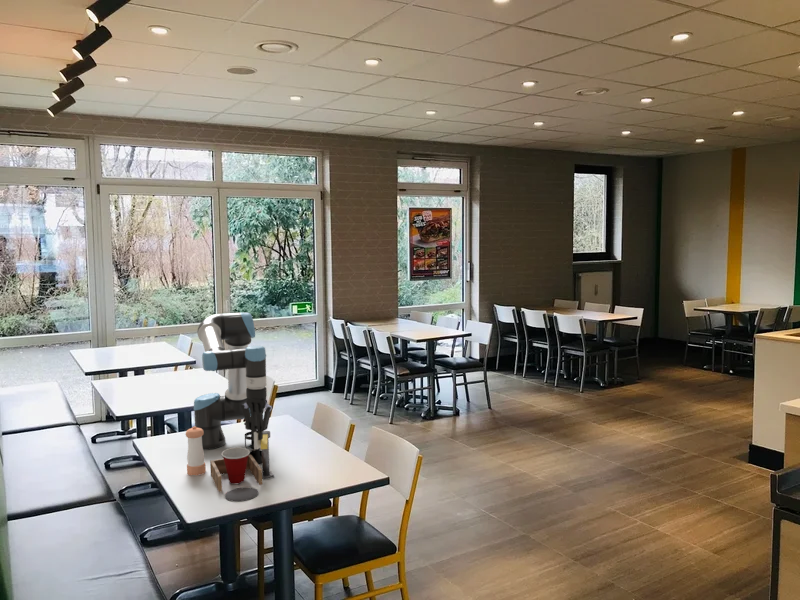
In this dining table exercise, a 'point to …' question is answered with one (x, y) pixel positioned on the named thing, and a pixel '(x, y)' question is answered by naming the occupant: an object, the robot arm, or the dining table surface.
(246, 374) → the robot arm
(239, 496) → the pad
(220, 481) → the walnut holder
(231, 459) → the plastic cup
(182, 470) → the dining table surface
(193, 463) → the pepper shaker
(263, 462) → the post
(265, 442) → the arm
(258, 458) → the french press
